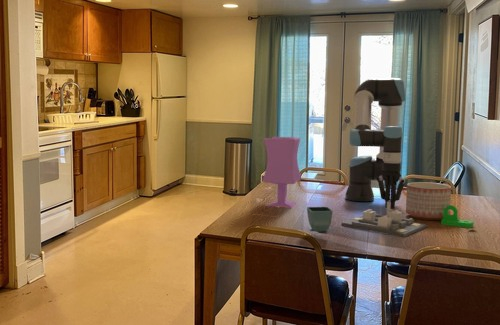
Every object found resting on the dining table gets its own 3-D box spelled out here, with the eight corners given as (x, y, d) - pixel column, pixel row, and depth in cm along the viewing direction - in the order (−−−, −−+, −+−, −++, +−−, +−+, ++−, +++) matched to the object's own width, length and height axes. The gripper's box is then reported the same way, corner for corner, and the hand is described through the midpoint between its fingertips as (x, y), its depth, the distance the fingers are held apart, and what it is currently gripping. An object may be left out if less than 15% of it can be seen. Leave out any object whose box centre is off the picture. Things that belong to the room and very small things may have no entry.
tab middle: (362, 220, 206) (362, 209, 205) (366, 219, 209) (367, 208, 208) (370, 222, 203) (371, 211, 203) (375, 220, 206) (375, 209, 206)
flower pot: (306, 228, 198) (306, 206, 197) (327, 227, 198) (327, 206, 198) (310, 233, 189) (311, 211, 188) (332, 233, 190) (332, 210, 189)
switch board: (341, 225, 203) (341, 217, 202) (366, 217, 219) (366, 210, 219) (404, 237, 184) (404, 229, 184) (426, 227, 200) (426, 219, 200)
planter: (429, 223, 208) (430, 189, 207) (396, 214, 225) (398, 183, 224) (458, 218, 217) (460, 186, 216) (425, 210, 234) (427, 181, 233)
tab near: (377, 227, 194) (377, 216, 193) (382, 225, 197) (382, 214, 196) (386, 229, 191) (387, 217, 191) (391, 227, 194) (391, 216, 193)
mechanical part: (441, 224, 206) (442, 206, 205) (443, 222, 211) (444, 204, 210) (471, 228, 200) (472, 209, 199) (473, 225, 205) (474, 207, 204)
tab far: (389, 221, 205) (389, 210, 205) (393, 219, 208) (393, 209, 208) (397, 222, 203) (398, 211, 202) (401, 221, 206) (402, 210, 205)
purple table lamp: (271, 202, 253) (272, 136, 249) (300, 204, 248) (301, 137, 244) (262, 207, 238) (263, 138, 235) (293, 210, 233) (294, 139, 230)
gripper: (373, 161, 206) (371, 215, 208) (402, 164, 197) (399, 219, 200) (381, 160, 212) (379, 212, 214) (410, 162, 203) (407, 216, 205)
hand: (389, 215), depth 207 cm, fingers closed
